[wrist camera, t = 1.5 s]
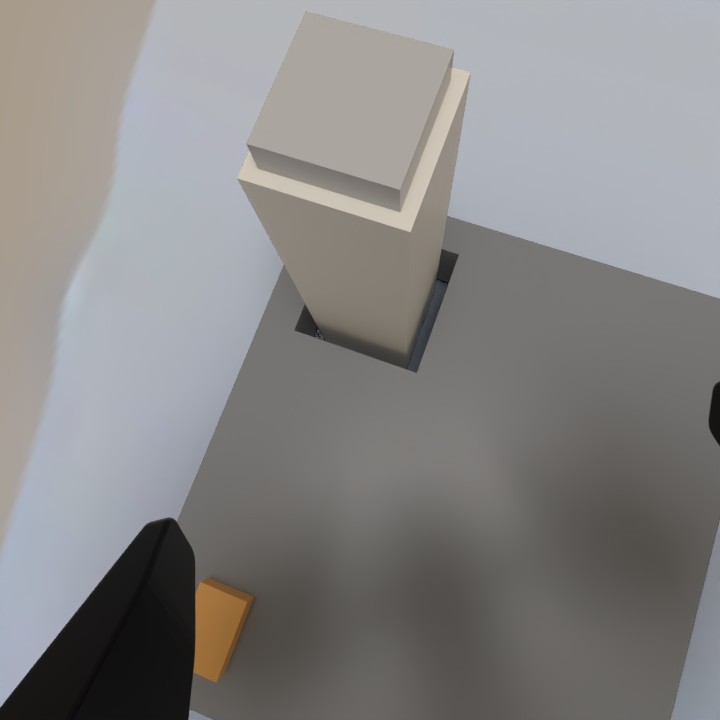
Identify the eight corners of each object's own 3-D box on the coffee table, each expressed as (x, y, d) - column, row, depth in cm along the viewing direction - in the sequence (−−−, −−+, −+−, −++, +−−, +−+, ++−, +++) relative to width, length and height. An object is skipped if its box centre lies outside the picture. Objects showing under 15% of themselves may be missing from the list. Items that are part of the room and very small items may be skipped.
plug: (406, 370, 22) (411, 211, 9) (325, 342, 23) (223, 153, 10) (434, 291, 23) (476, 39, 10) (355, 266, 23) (296, -7, 10)
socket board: (588, 842, 18) (635, 932, 15) (154, 646, 21) (100, 682, 17) (720, 336, 22) (785, 306, 18) (330, 215, 24) (317, 165, 20)
